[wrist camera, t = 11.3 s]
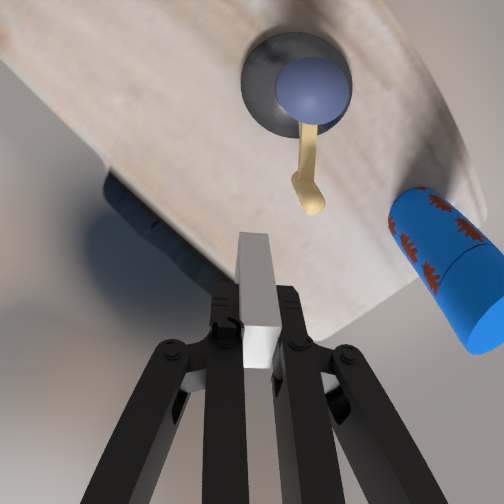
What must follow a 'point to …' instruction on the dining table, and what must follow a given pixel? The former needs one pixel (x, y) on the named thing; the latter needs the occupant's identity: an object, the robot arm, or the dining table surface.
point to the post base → (264, 74)
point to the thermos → (453, 266)
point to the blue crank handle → (310, 115)
